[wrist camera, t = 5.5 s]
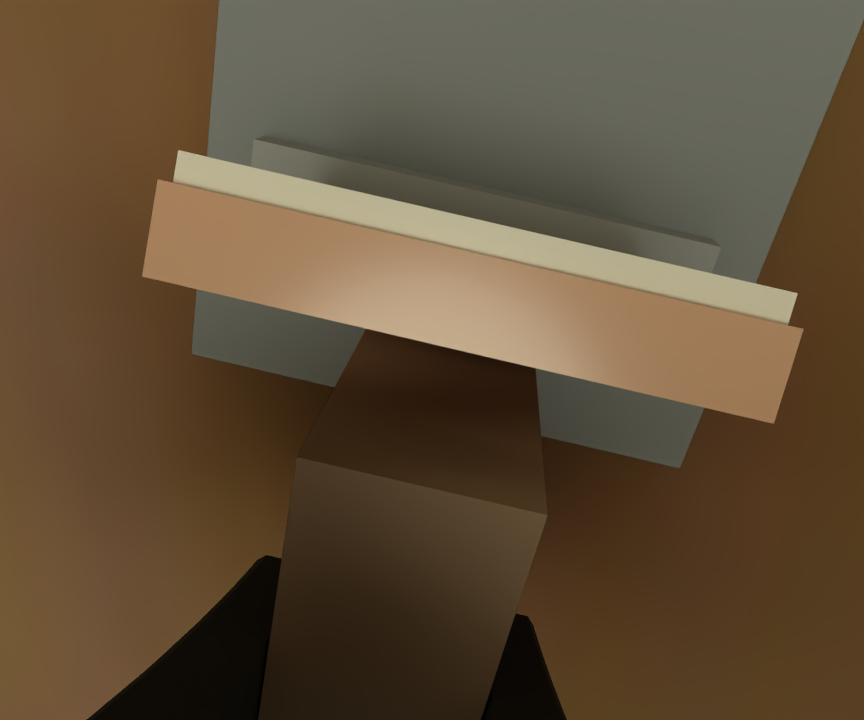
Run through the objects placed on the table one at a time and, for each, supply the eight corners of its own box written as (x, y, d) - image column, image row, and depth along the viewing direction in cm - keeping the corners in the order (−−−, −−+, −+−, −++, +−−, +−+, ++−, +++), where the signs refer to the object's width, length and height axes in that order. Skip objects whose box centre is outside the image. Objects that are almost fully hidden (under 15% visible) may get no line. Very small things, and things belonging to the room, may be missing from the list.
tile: (638, 273, 13) (813, 296, 6) (620, 338, 13) (773, 424, 7) (314, 199, 13) (164, 146, 6) (301, 264, 13) (141, 276, 7)
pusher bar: (532, 329, 11) (548, 515, 7) (441, 653, 14) (407, 943, 9) (383, 295, 11) (296, 457, 7) (322, 625, 14) (231, 900, 9)
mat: (1054, -478, 9) (1116, -541, 8) (675, 458, 14) (686, 484, 14) (282, -645, 9) (256, -727, 8) (199, 346, 15) (178, 365, 14)
